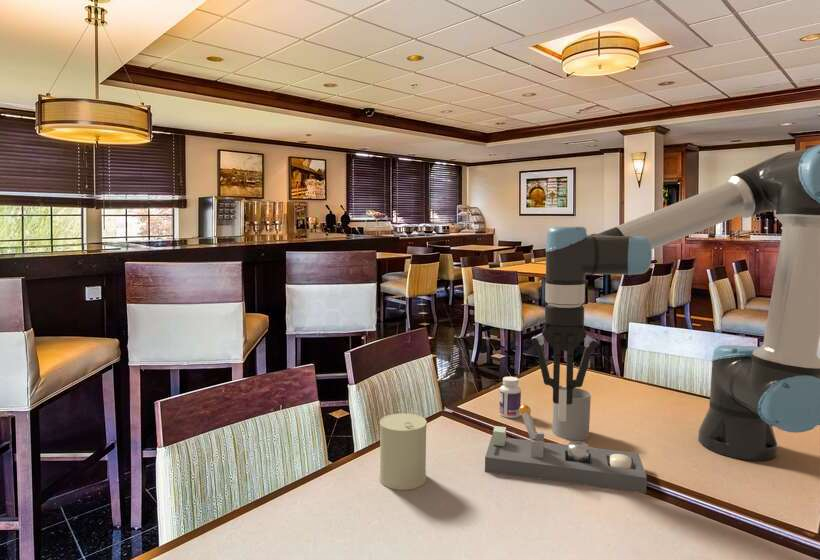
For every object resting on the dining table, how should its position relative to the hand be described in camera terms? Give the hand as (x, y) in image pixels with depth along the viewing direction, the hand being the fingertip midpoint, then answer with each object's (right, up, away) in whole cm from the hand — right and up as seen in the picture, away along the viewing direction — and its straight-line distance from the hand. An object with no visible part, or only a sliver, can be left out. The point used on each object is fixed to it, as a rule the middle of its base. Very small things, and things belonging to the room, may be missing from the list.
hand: (562, 418), depth 108 cm
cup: (+7, -9, +19) cm, 22 cm away
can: (-32, -11, -5) cm, 34 cm away
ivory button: (+11, -10, -3) cm, 15 cm away
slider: (-12, -6, +5) cm, 14 cm away
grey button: (+3, -8, -1) cm, 9 cm away
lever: (-5, -6, +1) cm, 8 cm away
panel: (0, -10, 0) cm, 10 cm away
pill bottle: (-5, -7, +30) cm, 31 cm away
